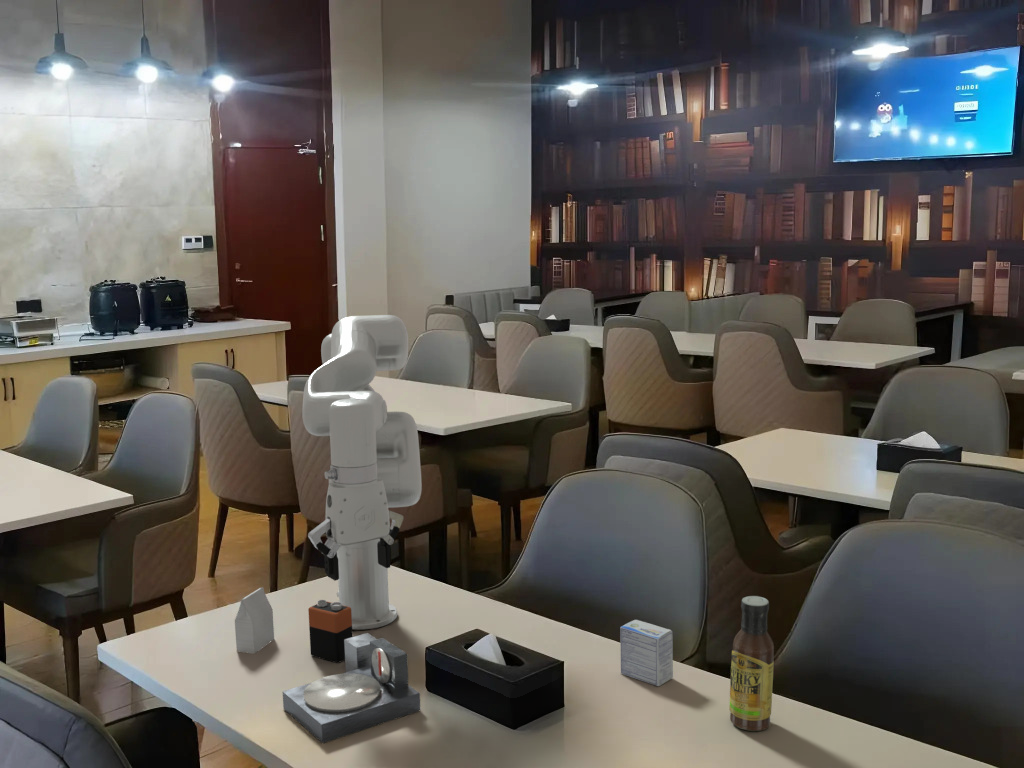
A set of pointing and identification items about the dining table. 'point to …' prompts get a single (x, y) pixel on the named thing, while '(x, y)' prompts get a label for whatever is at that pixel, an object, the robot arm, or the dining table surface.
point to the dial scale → (355, 696)
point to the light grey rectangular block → (357, 651)
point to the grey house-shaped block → (254, 622)
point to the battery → (329, 629)
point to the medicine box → (646, 652)
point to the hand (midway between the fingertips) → (359, 572)
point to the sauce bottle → (752, 668)
